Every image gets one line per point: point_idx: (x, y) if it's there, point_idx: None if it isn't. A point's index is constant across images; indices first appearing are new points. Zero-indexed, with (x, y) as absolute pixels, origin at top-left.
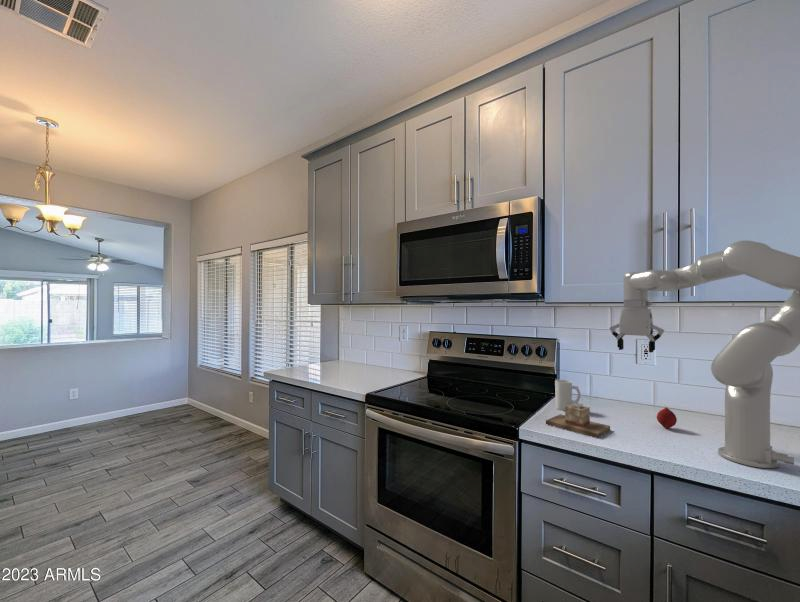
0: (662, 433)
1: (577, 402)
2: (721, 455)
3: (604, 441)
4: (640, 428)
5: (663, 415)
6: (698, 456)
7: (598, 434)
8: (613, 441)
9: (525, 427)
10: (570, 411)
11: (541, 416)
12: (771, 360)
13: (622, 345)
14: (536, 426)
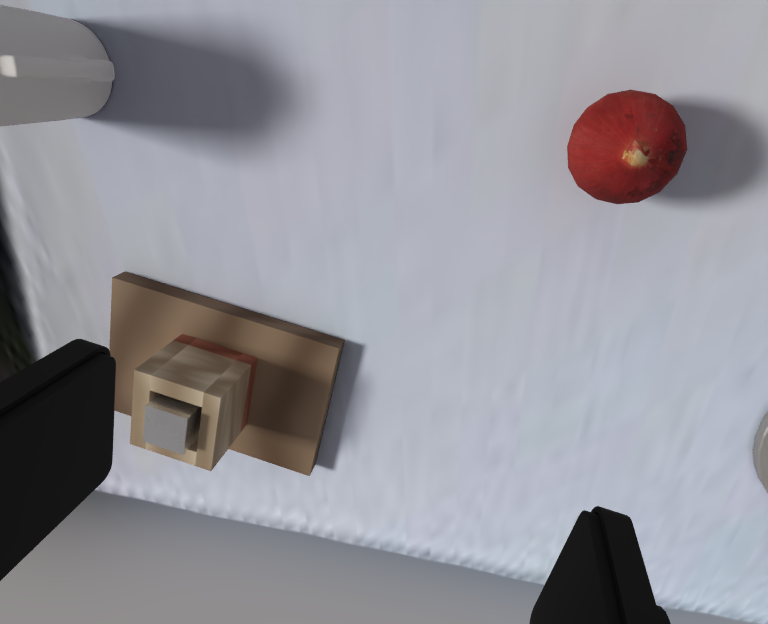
0: (572, 257)
1: (110, 79)
2: (754, 466)
3: (341, 485)
4: (473, 229)
5: (603, 196)
6: (656, 492)
7: (312, 465)
8: (369, 471)
9: None
10: None
11: (58, 294)
12: None
13: (59, 446)
14: None
